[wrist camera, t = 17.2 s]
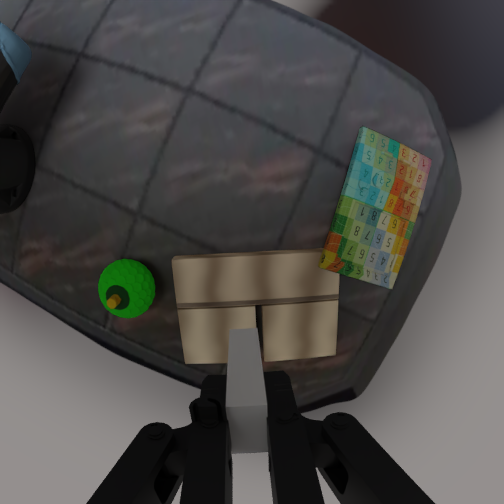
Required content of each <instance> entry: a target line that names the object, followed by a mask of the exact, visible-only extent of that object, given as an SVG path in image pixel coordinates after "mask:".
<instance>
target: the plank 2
mask: <svg viewBox="0 0 504 504" xmlns="http://www.w3.org/2000/svg"><path fill="white" fill-rule="evenodd" d="M261 306H262V331H263V355H264V362H268V361H281V360H293V359H303V358H313V357H322V356H331V355H336V340H337V321H338V300H337V299H328V300H316V301H303V302H290V303H275V304H261Z"/></svg>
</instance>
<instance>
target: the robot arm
mask: <svg viewBox="0 0 504 504" xmlns="http://www.w3.org/2000/svg"><path fill="white" fill-rule="evenodd" d="M31 56H32V52H31V49H30V47H29V46H28V45H27V44H26V43H25V42H24V41H23V40H22V39H21V38H20V37H19V36H18V35H17V34H16V33H14V32H13V31H12V30H11V29H9V28H8V27H7V26H6V25H4V24H3V23H1V22H0V113H1V111H2V109H3V107H4V105H5V103H6V101H7V100H8V98H9V96H10V94H11V93H12V91H13V89H14V87H15V86H16V84H17V85H18V84H19V82H20V78H21V76H22V74H23V72H24V71H25V69H26V67H27V66H28V64H29V62H30V60H31ZM34 169H35V156H34V150H33V146H32V143H31V140H30V138H29V137H28V135H27V134H26V133H25V131H23V130H22V129H21V128H19V127H16V126H11V125H0V214H3V213H7V212H11V211H13V210H15V209H16V208H17V207H18V206H19V205H20V204H21V203H22V202H23V201H24V199H25V198H26V196H27V194H28V192H29V190H30V187H31V184H32V181H33V176H34ZM189 409H190V414H191V419H192V423H191V424H189V425H188V426H185V427H181V428H177V429H172V428H171V427H170V426H169V425H167V424H165V423H159V422H156V423H150V424H148V425H146V426H144V427H143V428H142V429H141V430H140V431H139V433H138V434H137V435H136V437H135V438H134V440H133V441H132V442H131V444H130V445H129V446H128V448H127V449H126V451H125V452H124V453H123V455H122V456H121V457H120V459H119V460H118V461H117V463H116V464H115V466H114V467H113V468H112V470H111V471H110V472H109V474H108V475H107V476H106V478H105V479H104V480H103V482H102V483H101V485H100V486H99V487H98V489H97V490H96V491H95V493H94V494H93V495H92V497H91V498H90V499H89V501H88V502H87V503H86V504H171V503H172V501H173V499H174V497H175V495H176V493H177V491H178V489H179V487H180V485H181V483H182V481H183V484H182V491H181V497H180V504H232V456H231V451H232V454H235V453H257V452H268V453H269V454H268V456H269V472H270V478H271V488H272V497H273V504H325V503H324V499H323V496H322V491H321V487H320V484H319V480H318V476H317V472H316V468H315V467H318V470H319V471H320V473H321V475H322V476H323V478H324V479H325V481H326V482H327V484H328V485H329V487H330V488H331V490H332V491H333V493H334V494H335V496H336V497H337V499H338V500H339V502H340V503H341V504H435V503H434V502H433V501H432V500H431V499H430V498H429V497H428V496H427V495H426V494H425V493H424V491H422V489H421V488H420V487H419V486H418V485H417V484H416V483H415V482H414V481H413V480H412V479H411V478H410V477H409V476H408V475H407V474H406V473H405V472H404V470H403V469H402V468H401V467H400V466H399V465H398V464H397V463H396V462H395V461H394V460H393V459H392V458H391V457H390V455H389V454H388V453H387V452H386V451H385V450H384V449H383V448H382V447H381V446H380V445H379V443H378V442H377V441H376V440H375V439H374V438H373V437H372V436H371V435H370V434H369V433H368V431H367V430H366V429H365V428H364V427H363V426H362V425H361V424H360V423H359V422H358V420H357V419H356V418H355V417H353V416H352V415H350V414H347V413H342V412H337V413H332V414H330V415H328V416H326V418H325V419H324V420H323V421H319V420H311V419H308V418H305V417H303V416H302V415H301V413H300V412H299V411H298V409H297V405H296V401H295V397H294V393H293V390H292V386H291V382H290V378H289V376H288V375H287V374H286V373H285V372H284V371H272V372H263V368H262V360H261V353H260V345H259V337H258V329H257V328H248V329H230V331H229V349H228V368H227V375H208V376H207V377H206V378H205V379H204V380H203V382H202V387H201V395H200V398H197V399H195V400H194V401H192V402H191V404H190V406H189Z"/></svg>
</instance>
